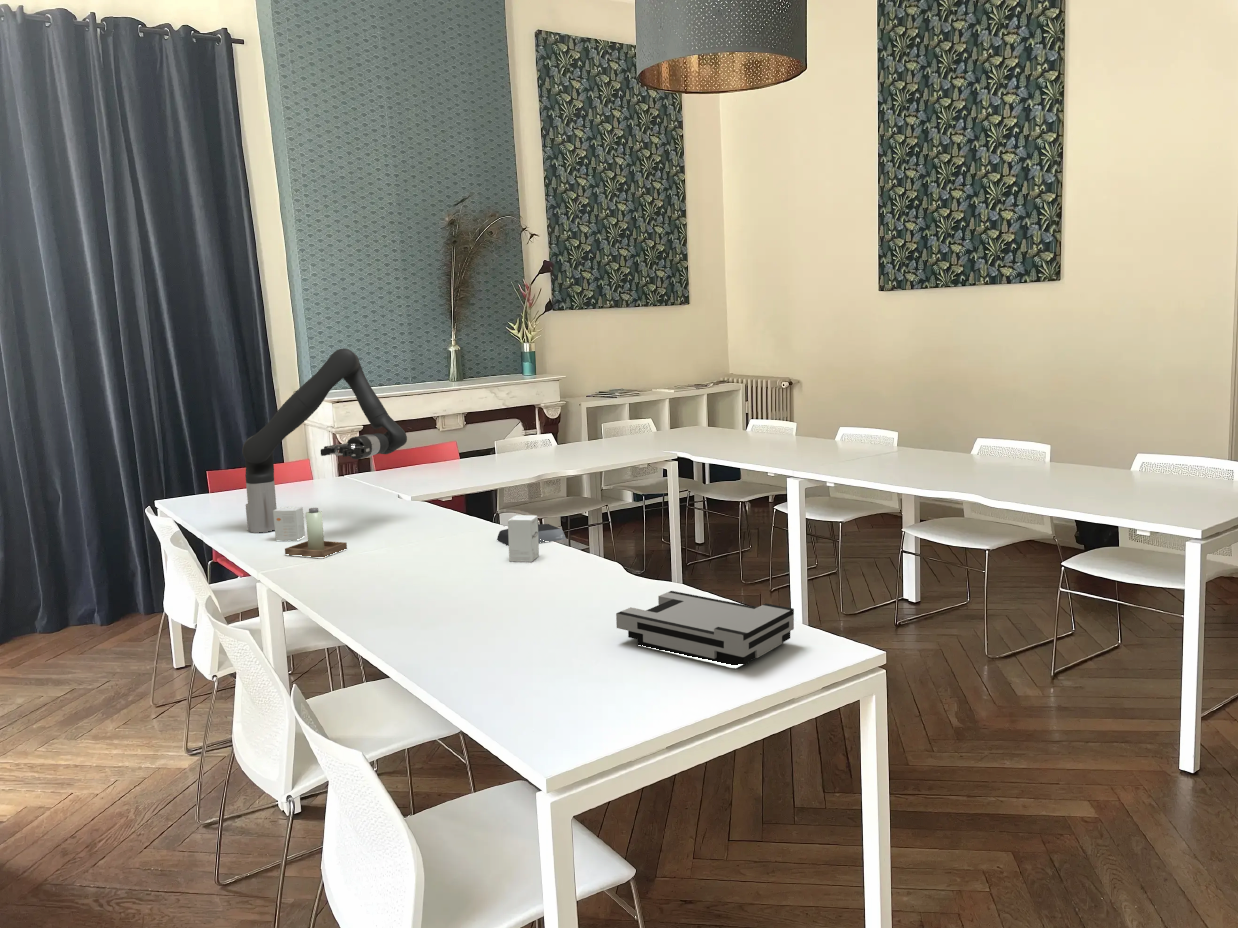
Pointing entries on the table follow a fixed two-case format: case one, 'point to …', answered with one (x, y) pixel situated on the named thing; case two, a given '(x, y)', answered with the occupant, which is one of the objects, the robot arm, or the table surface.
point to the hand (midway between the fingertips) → (332, 453)
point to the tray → (328, 549)
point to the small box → (289, 523)
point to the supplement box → (523, 538)
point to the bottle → (315, 529)
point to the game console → (708, 627)
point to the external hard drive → (544, 533)
